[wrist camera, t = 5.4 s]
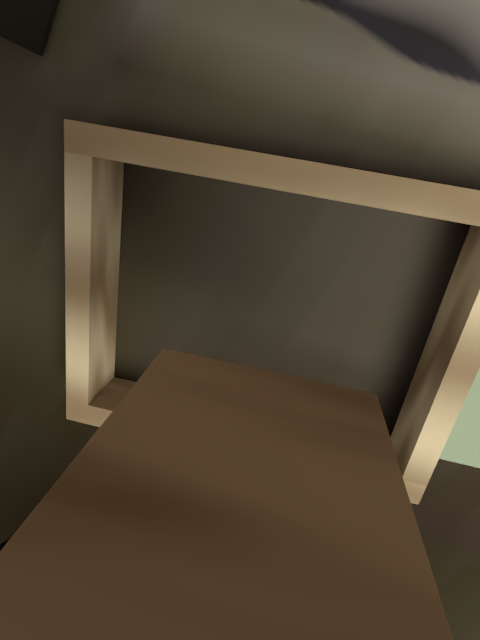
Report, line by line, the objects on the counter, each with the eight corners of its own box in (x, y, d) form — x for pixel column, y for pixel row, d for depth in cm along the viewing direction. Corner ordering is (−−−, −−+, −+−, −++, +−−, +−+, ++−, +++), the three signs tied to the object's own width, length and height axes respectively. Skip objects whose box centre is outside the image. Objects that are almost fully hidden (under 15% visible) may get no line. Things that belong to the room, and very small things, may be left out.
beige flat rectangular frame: (404, 462, 22) (418, 504, 19) (94, 389, 24) (66, 419, 21) (512, 197, 17) (553, 203, 14) (100, 126, 18) (64, 118, 15)
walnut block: (324, 549, 11) (362, 1391, 3) (148, 504, 11) (-159, 1158, 4) (376, 394, 9) (728, 1530, 1) (163, 348, 9) (-391, 1037, 2)
